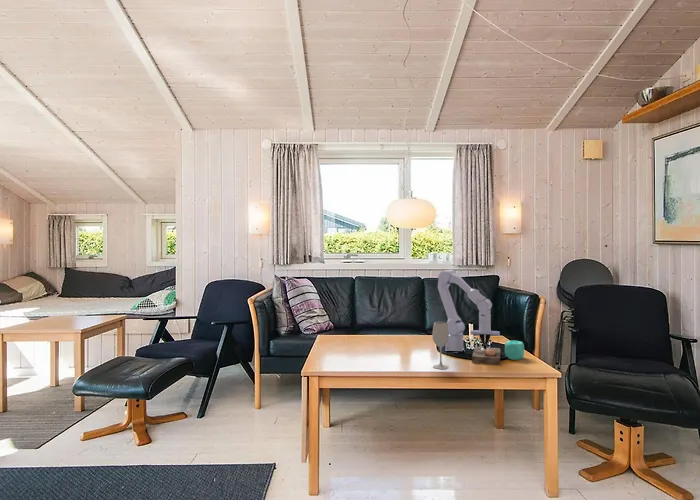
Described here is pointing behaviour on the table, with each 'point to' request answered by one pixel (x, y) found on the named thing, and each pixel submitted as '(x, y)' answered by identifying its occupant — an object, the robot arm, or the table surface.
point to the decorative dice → (514, 350)
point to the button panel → (481, 357)
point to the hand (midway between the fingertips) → (485, 348)
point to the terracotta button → (490, 352)
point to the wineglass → (440, 339)
